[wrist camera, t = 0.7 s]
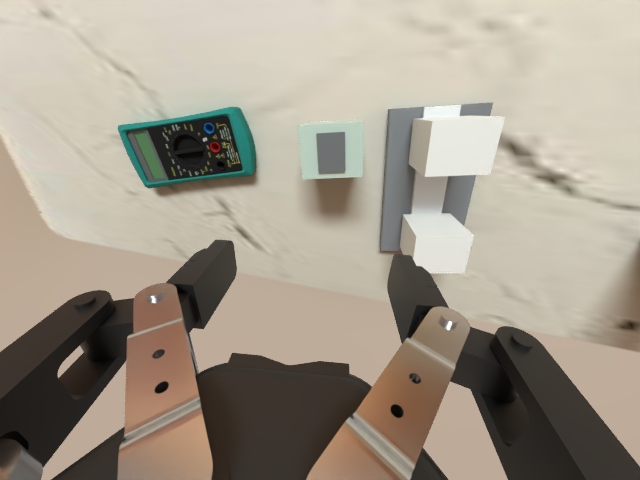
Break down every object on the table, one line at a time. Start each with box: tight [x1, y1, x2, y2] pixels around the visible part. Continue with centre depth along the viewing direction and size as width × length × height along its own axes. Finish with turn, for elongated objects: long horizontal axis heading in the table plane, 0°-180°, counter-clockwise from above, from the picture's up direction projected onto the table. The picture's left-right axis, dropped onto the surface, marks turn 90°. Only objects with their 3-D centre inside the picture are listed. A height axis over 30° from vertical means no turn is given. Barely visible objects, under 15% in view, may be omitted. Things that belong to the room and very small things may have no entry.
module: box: [298, 119, 364, 179], centre depth 25 cm, size 6×4×8 cm
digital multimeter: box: [118, 107, 256, 188], centre depth 29 cm, size 7×15×3 cm, turn 98°
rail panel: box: [380, 103, 505, 273], centre depth 26 cm, size 10×17×8 cm, turn 3°
